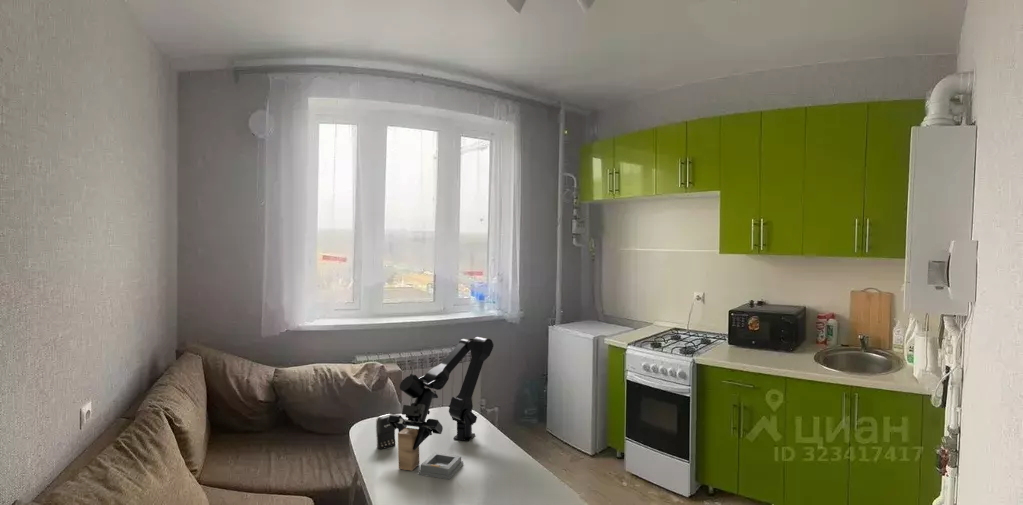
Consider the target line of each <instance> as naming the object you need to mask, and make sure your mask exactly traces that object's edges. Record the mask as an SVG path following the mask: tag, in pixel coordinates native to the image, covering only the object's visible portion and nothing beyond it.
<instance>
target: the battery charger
mask: <svg viewBox="0 0 1023 505" xmlns="http://www.w3.org/2000/svg"><path fill="white" fill-rule="evenodd" d="M392 414H393V413H388V414H387V413H386V414H383V415H380V416H378V417H377V418H376V419H375V435H376V436H375V437H376V448H378V449H380V450H381V449H387V448H391V447H393V446H395V445H396V434H395V433H396V429H397V428H393V427H392V426H391V425H390V424H389V422H388V421H387V420H388V418H389V416H390V415H392Z"/></svg>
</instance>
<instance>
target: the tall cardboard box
mask: <svg viewBox="0 0 1023 505" xmlns="http://www.w3.org/2000/svg"><path fill="white" fill-rule="evenodd" d="M418 432H419V428H415V427H414V428H412V427H406V428H404V429H403V430H402V431H400V432H399V431H398V432H397V446H398V448H397V451H398V453H397V454H398V455H397V456H398V460H397V461H398V469H400V470H405V471H411V472H413V471H414V470H415V468H417V467H418V466H419V465H420V445H419V446H418V447H417V448H416V450H413V446H414V443H415V440H416V437H417V435H418Z"/></svg>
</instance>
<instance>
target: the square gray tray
mask: <svg viewBox="0 0 1023 505" xmlns="http://www.w3.org/2000/svg"><path fill="white" fill-rule="evenodd" d="M463 465H464V460H463V461H462V455H457V454H451V453H445V452H444V453H443V452H437V451H434V452H433V453H432V454H431V455H430V456H428V457H427V459H425V460H424V461H423V462H422V463H421V464H420V469H419V470H417V471H418V472H417V473H418V474H417V475H419V476H424V477H425V476H426V477H431V478H439V479H445V480H451V478H452V477H453V476H455V474H456V473H457V472H458V470H459V469H461V467H462V466H463Z"/></svg>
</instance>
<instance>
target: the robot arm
mask: <svg viewBox="0 0 1023 505" xmlns="http://www.w3.org/2000/svg"><path fill="white" fill-rule="evenodd" d="M493 349H494V342H493V341H492V339H491V338H487V337H482V336H475V337H473V338H462V339H460V340H459V342H458V344H456V346H454V348H453V349H452V350H451V351H450V352H449V354H448V355H447V356H446V357H445V358H444V359H443V360H442V362H441V363H440V364H438V365H436V366H434V367H432V368H431V369H430V370H428V371H427V372H426V373H425V374H424V375H423V376H420V377H418V376H417V375H416V374H415V373H410V374H409V375H408V376H406V377H405V378H403V379H402V380H401V382H400V384H399V390H400V391H402V393H404V394H405V395H406V396H408V397H409V398H411V399H414V402H412V403H410V405H407V404H403V405H402V410H401V415H403V416H404V415H405V418H406V419H404V418H403V417H402V416H401V415H400V414H394V413H391V414H392V415H390V416H389V418H388V420H387V421H388V422H389V424H390V425H391V426H392V427H393V428H396V429H397V430H398V433H399V432H400V431H402V430H403V429H404V428H408V427H414V428H418V429H419V432H418V435H417V437H416V440H415V443H414V446H413V450H416V448H417V447H418V446H419V447H420V445H422V443H423V442H424V441H425V440H426V439H427V438H429V436H432V435H433V434H437V435H441V434H442V432H443V428H444V427H443V425H442V424H441V422H440V421H439V420H438V419H436V418H435V419H433V418H427V416H428V415H430V413H431V411H430V408H431V406H432V401H433V400H435V399H438V398H439V396H438V393H437V392H436V391H441V390H442V389H443V388H444V387H445V386H446V384H447V383H448V381H449V379H450V374H451V372H452V371H453V370H454V369H455V368H456V367H457V365H458V364H459V363H460V362H461V361H462V360H463V359H464V358H465V356H467V354H468V353H469V352H470V355H471V358H470V361H469V364H468V367H467V370H466V372H465V376H464V378H463V382H462V385H461V387H460V391H459V393H458V395H456V396H452V397H451V399H450V403H449V405H448V413H449V415H450V417H451V419H452V421H454V422H456V435H455V436H453V440H456V441H465V442H470V441H471V440H472V439H473V437H474V436H476V433H473V428H472V426H473V425H474V424H476V423H477V420H478V416H477V415H475V414H474V413H473V412H472V411H473V406H474V405H473V399H472V397H473V395H474V392H475V388H476V386H477V383H478V379H479V376H480V373H481V370H482V369H483V368H482V367H483V365H484V362H485V361H486V360H488V358H489V357H490V356H491V353H492V351H493ZM432 389H434V390H432ZM426 419H427V420H426Z"/></svg>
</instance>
